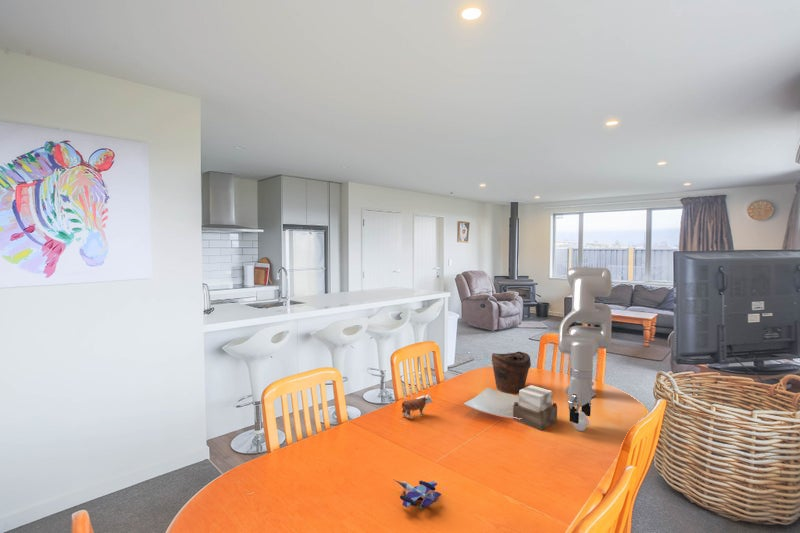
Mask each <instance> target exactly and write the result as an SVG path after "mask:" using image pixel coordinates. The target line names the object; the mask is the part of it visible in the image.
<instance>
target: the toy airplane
mask: <svg viewBox="0 0 800 533" xmlns="http://www.w3.org/2000/svg"><path fill="white" fill-rule="evenodd" d="M394 481H395V482H396V483H397V484H399V485H400V486H402V488H403V490H402V494H401V495H399V499H401V500H402V505H401V506H403V507H405V508H409V507H410V506H412V507H417V506H418V504H417V501H421V503H420V505H419V506H418V507H419V509H420V510H421V511H422V510H423V509H424V508H427V507H429V506H430V505H431V504H433V503H436V501H437V500H438V499H439V497H440V496H441V495H442V494H441V492H439V491H436V486H437V485H438V482H436V481H434V480H432V481H428V482H427V481H423V480H419V481H418V483H419V485H416V486H412V484H410V483H408V482H407V481H397V480H396V479H394ZM406 491H407V492H406Z"/></svg>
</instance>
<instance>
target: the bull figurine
mask: <svg viewBox="0 0 800 533" xmlns="http://www.w3.org/2000/svg"><path fill="white" fill-rule="evenodd" d="M433 402H434V400H433V399H432V398H431V396H430V395H429V394H425V395H421V396H418V397H416V398H413V399H412V398H411V399H409V400H408V399H407V400H404V401H403V402H402V403H401V409H402V410H401V412H402V417H404V418H406V417H409V419H411V420H413V419H414V418H413V416H412V415H411V412H413V413H414V412H415V411H417V410H418V412H419V413H418V414H419V416H420V417H423V410H424V409H425V407H426V406H427V404H430V403H433Z"/></svg>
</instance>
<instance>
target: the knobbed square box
mask: <svg viewBox="0 0 800 533" xmlns="http://www.w3.org/2000/svg"><path fill="white" fill-rule="evenodd" d="M512 407H513V409H512V411H513V412H512V418H513V417H517V418H522V419H520V420H519V419H516V418H513V419H512V421H515V422H518V423H520V424H523V425H525V426H528V427H531V428H534V429H536V430H539V431H544V430H545V429H547V428H548V427H550V426H552V425H553V424H555V423H556V422H558V404H557V403H556V402H553V391H552V390H549V389H546V388H543V387H539V386H535V385H532V384H531V385H528V386H525V388H523V389H521V390H519V393H518V402H517V401H514V402H513V405H512Z"/></svg>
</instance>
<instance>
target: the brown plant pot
mask: <svg viewBox="0 0 800 533" xmlns="http://www.w3.org/2000/svg"><path fill="white" fill-rule="evenodd" d="M491 362H492V363H491V364H492V369H493V375H494V380H495V381H494V382H495V386H496V389H497V390H498V391H500V392H503V393H506V394H507V393H508V394H519V390H521V389H523V388H526V382H527V378H528V374H529V369H530V368H531V367H532V363H531V356H530V355H529V354H528V353H527V352H524V351H517V352H509V353H492V354H491Z"/></svg>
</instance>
